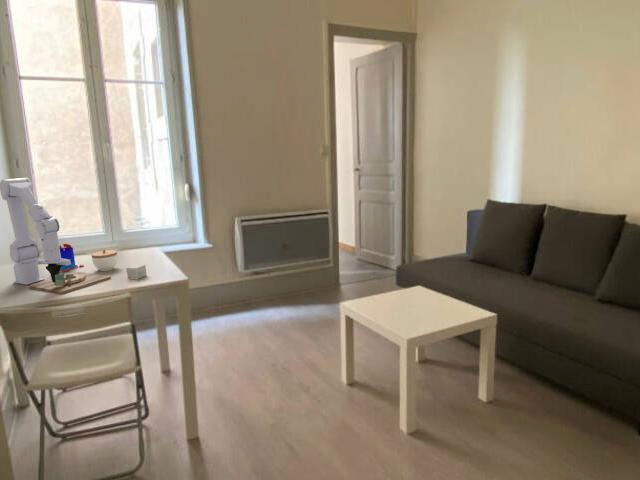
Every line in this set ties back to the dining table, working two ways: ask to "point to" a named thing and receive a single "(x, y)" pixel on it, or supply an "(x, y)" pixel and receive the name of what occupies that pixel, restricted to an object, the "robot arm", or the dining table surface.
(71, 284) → the post board
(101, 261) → the lidded jar
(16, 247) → the robot arm
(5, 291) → the dining table surface
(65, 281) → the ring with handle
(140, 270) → the small box
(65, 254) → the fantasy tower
